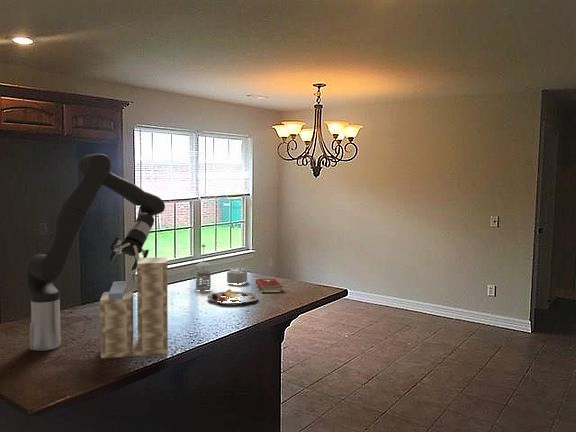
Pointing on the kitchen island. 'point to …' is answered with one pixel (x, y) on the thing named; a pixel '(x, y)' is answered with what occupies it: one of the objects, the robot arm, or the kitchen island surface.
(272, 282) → the hardcover book
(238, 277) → the lumpy-topped squat cylinder
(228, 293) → the food plate
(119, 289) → the blue-grey flat bar
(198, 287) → the french press
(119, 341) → the stepped stand
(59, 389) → the kitchen island surface
